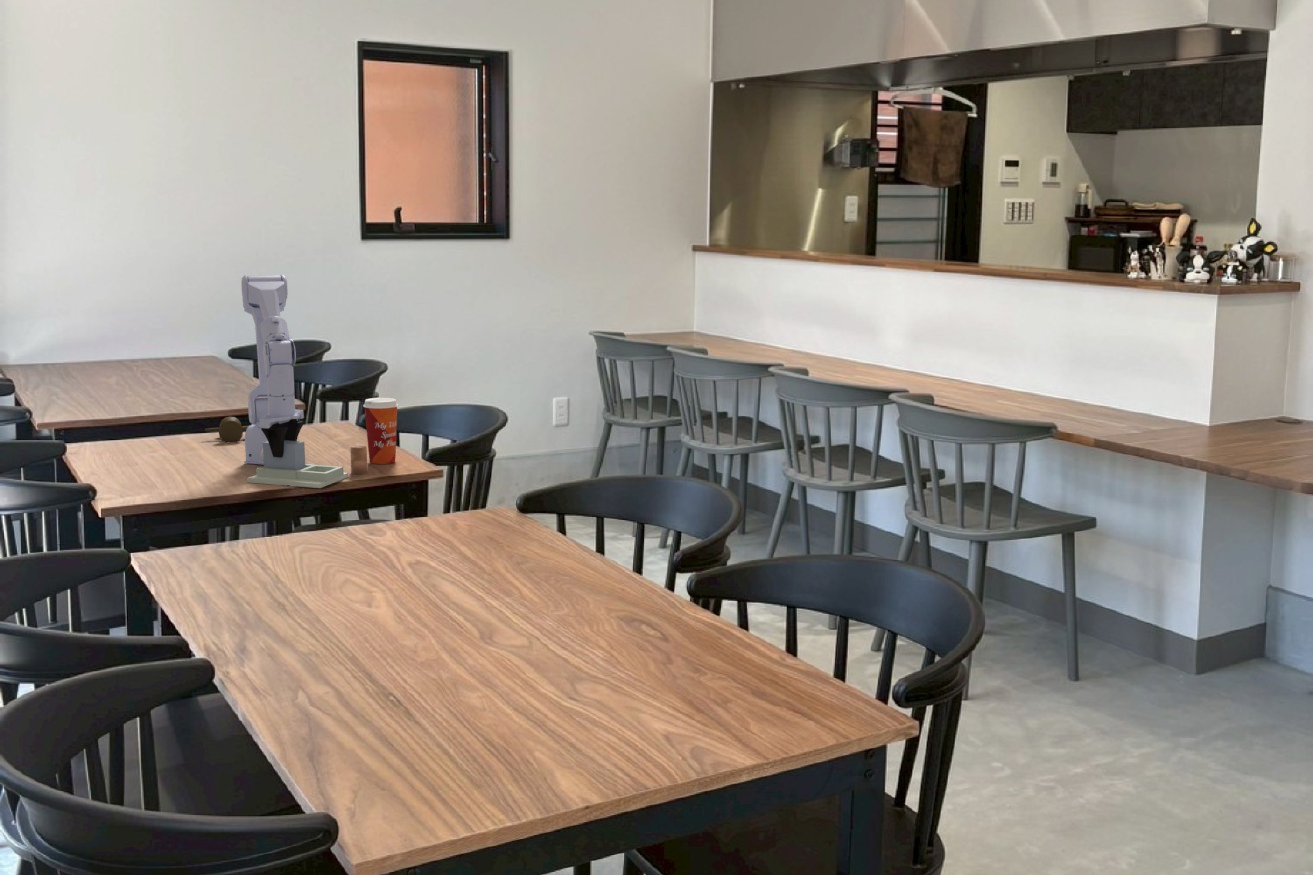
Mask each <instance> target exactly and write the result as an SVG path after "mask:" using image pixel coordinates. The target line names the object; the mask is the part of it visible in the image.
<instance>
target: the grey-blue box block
mask: <svg viewBox="0 0 1313 875" xmlns="http://www.w3.org/2000/svg"><path fill="white" fill-rule="evenodd" d="M305 447H306V446H305V441H302V440H297V441H289V440H284V453H283V457H281V458H279V457H273V455H272V452H271V448H270V445H269V442H268V441H266V442H263V449H262V450H261V459H262V460H263V461H264V465H263V468H274V469H287V470H301V469H304V468H305V464H306V451H305Z"/></svg>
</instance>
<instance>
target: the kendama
mask: <svg viewBox="0 0 1313 875" xmlns="http://www.w3.org/2000/svg"><path fill="white" fill-rule="evenodd" d="M249 426H250V425H243V426H242V423H241V421H240V420H239V418H237V417H235V416H226V417H224V418H222V419H221V421H220V422H219V427H211V428H210V427H209V428H205V429H204V431H205V432H218V436H219V439H220V440H221V441H222V442H224V443H226V442H230V443H237V442H239V441H240V440H241V439H242V437H243V436H244V433H246V430H247V428H248V427H249Z"/></svg>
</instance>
